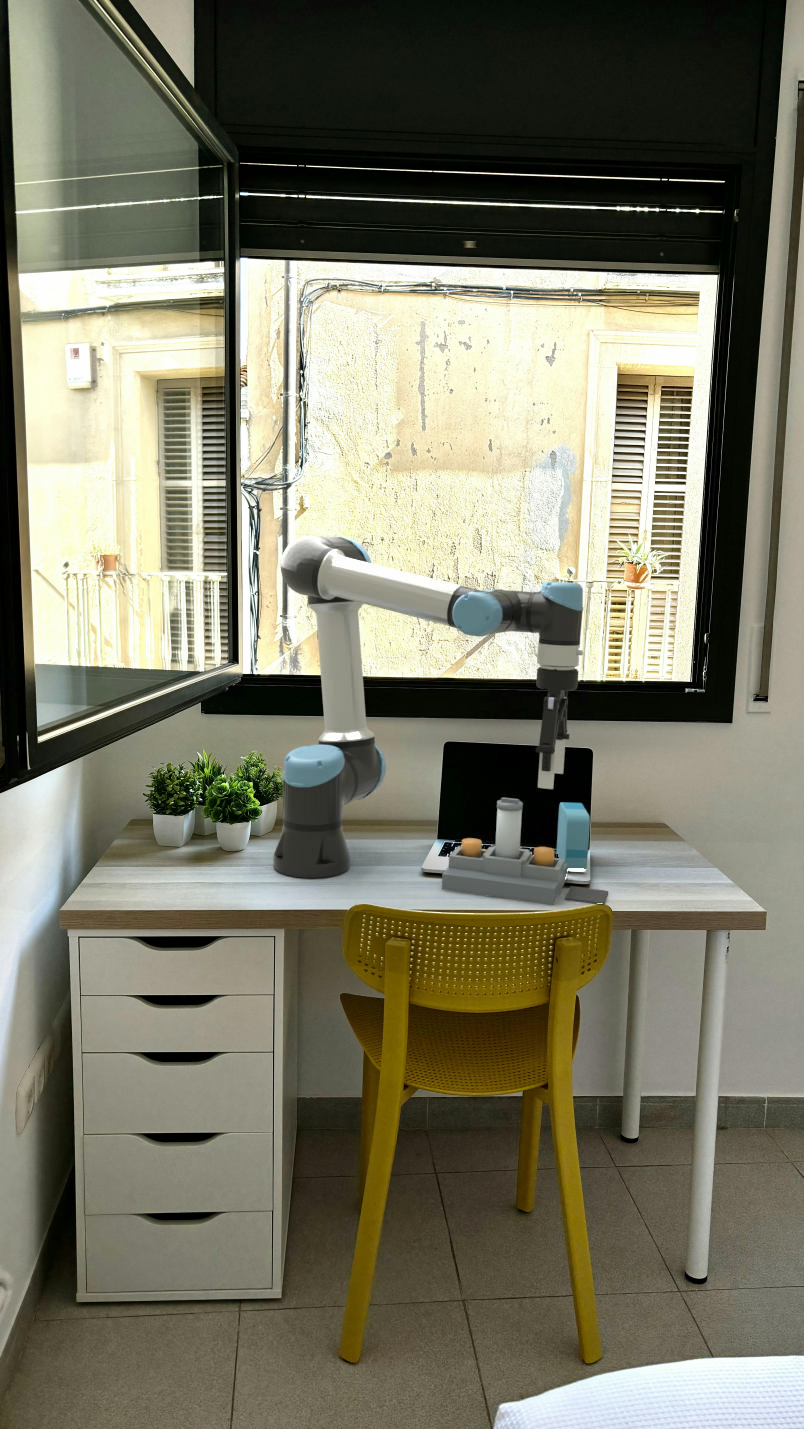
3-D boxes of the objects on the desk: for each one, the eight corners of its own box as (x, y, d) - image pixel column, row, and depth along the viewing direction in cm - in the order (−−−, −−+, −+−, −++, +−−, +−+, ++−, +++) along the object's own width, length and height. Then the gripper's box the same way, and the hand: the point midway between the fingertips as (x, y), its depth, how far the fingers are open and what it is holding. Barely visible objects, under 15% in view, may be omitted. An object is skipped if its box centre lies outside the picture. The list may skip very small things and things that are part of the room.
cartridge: (491, 870, 186) (494, 800, 184) (496, 863, 190) (500, 794, 188) (516, 874, 185) (520, 803, 182) (521, 866, 189) (525, 797, 187)
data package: (586, 875, 195) (590, 816, 193) (563, 874, 195) (567, 815, 193) (577, 856, 207) (581, 801, 205) (556, 855, 207) (559, 800, 205)
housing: (441, 889, 184) (442, 858, 183) (462, 864, 199) (464, 836, 198) (553, 904, 177) (555, 872, 176) (566, 878, 192) (568, 848, 191)
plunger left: (459, 855, 188) (459, 842, 188) (464, 849, 192) (464, 837, 191) (478, 857, 187) (479, 844, 186) (483, 852, 190) (483, 839, 190)
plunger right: (531, 864, 184) (532, 851, 183) (535, 858, 187) (536, 845, 187) (552, 866, 183) (552, 853, 182) (555, 861, 186) (556, 848, 186)
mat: (564, 899, 180) (565, 897, 180) (570, 888, 187) (570, 886, 187) (603, 905, 178) (603, 903, 178) (607, 893, 185) (608, 890, 185)
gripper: (570, 675, 167) (562, 797, 171) (586, 662, 191) (578, 769, 194) (526, 672, 169) (519, 792, 173) (547, 659, 193) (541, 765, 196)
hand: (550, 780), depth 183 cm, fingers open, 13 cm apart
